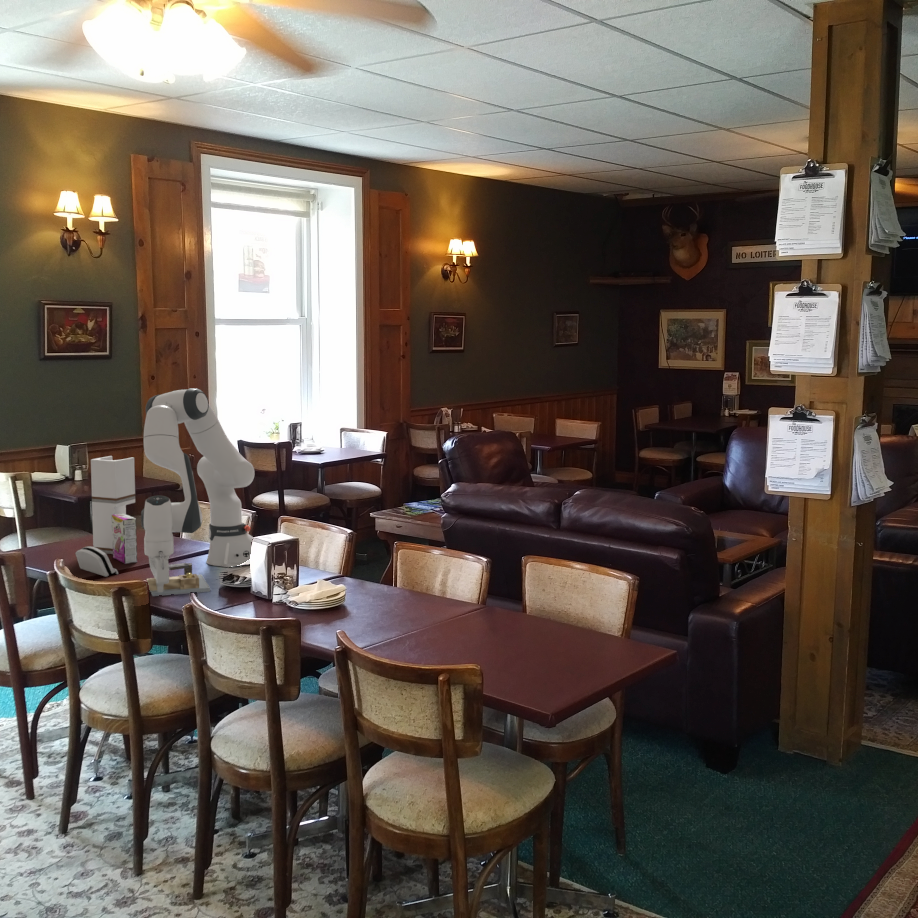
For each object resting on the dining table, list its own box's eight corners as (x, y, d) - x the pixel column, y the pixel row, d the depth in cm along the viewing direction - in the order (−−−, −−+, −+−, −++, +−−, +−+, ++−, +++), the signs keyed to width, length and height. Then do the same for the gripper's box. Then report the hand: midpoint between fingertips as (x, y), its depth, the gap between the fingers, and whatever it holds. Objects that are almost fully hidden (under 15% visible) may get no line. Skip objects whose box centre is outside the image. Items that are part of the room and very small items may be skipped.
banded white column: (117, 554, 368) (115, 461, 363) (93, 552, 371) (90, 459, 367) (136, 548, 379) (134, 457, 374) (112, 545, 382) (110, 455, 377)
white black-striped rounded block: (119, 574, 340) (109, 548, 337) (107, 580, 337) (97, 555, 333) (93, 565, 351) (83, 541, 347) (81, 572, 348) (71, 547, 344)
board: (201, 578, 337) (201, 574, 337) (210, 591, 321) (210, 587, 321) (146, 582, 330) (146, 578, 330) (152, 596, 314) (152, 592, 314)
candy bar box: (111, 558, 362) (110, 514, 360) (125, 556, 365) (124, 512, 363) (124, 564, 354) (123, 519, 352) (137, 562, 357) (136, 517, 355)
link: (196, 583, 326) (196, 573, 325) (199, 587, 321) (199, 578, 320) (146, 587, 320) (146, 577, 319) (148, 592, 314) (148, 582, 314)
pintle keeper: (191, 579, 335) (191, 562, 334) (197, 589, 322) (197, 571, 322) (166, 581, 331) (166, 564, 330) (171, 592, 319) (171, 573, 318)
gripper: (173, 554, 303) (174, 598, 305) (165, 540, 322) (166, 582, 324) (152, 556, 301) (153, 600, 302) (145, 542, 319) (146, 583, 321)
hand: (159, 591), depth 313 cm, fingers closed
